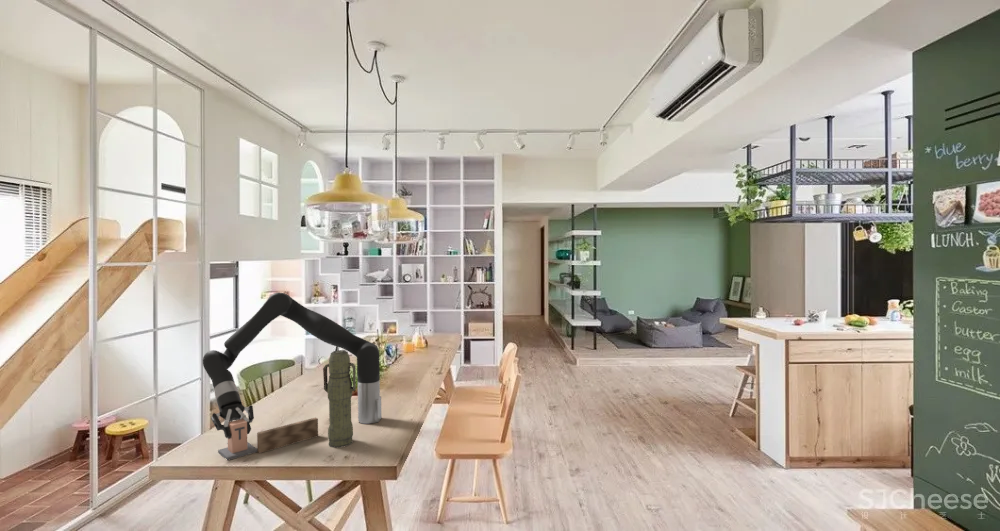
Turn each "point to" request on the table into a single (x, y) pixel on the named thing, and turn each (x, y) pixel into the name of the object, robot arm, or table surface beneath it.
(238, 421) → the marked block
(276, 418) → the table surface
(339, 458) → the table surface
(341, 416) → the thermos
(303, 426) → the walnut screen
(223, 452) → the charcoal mat
